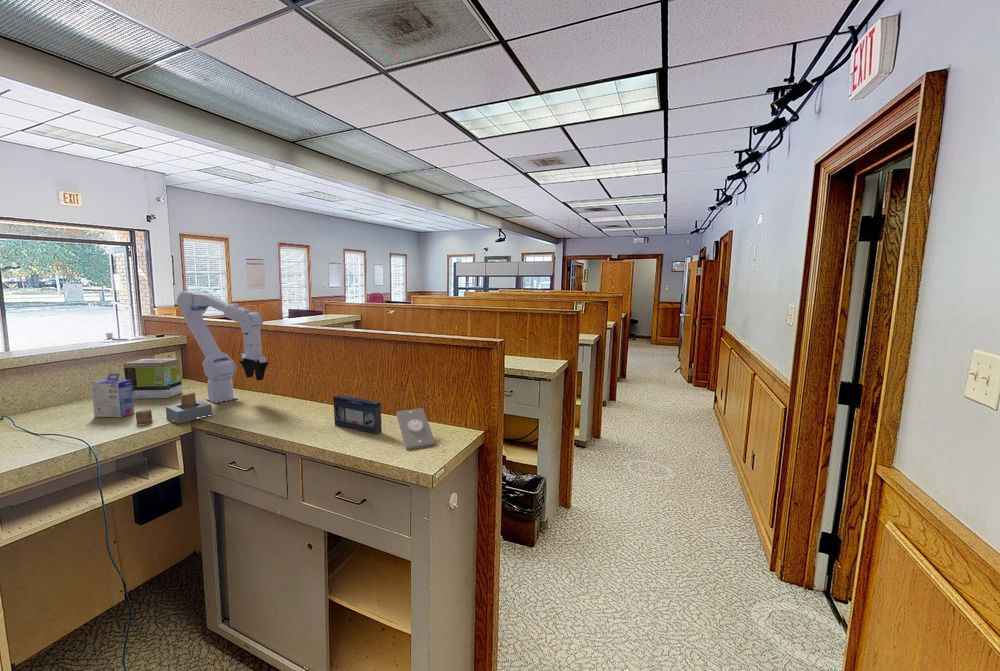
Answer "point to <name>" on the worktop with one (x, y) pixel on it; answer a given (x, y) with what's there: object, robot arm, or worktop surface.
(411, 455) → the worktop surface
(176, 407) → the block
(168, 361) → the tea box
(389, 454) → the worktop surface
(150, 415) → the brown wooden cube
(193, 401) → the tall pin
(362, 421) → the vhs cassette tape
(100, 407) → the ink cartridge box
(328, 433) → the worktop surface
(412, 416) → the light switch
